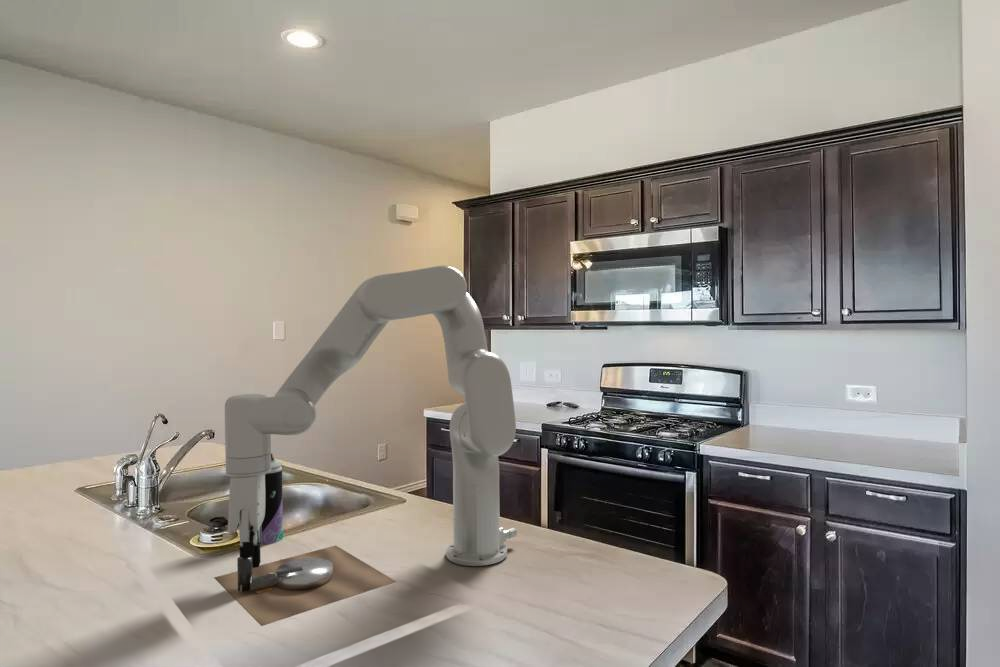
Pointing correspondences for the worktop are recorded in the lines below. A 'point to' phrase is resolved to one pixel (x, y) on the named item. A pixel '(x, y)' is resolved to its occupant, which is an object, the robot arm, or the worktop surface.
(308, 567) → the dial
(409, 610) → the worktop surface
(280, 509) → the spray can
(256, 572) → the board
